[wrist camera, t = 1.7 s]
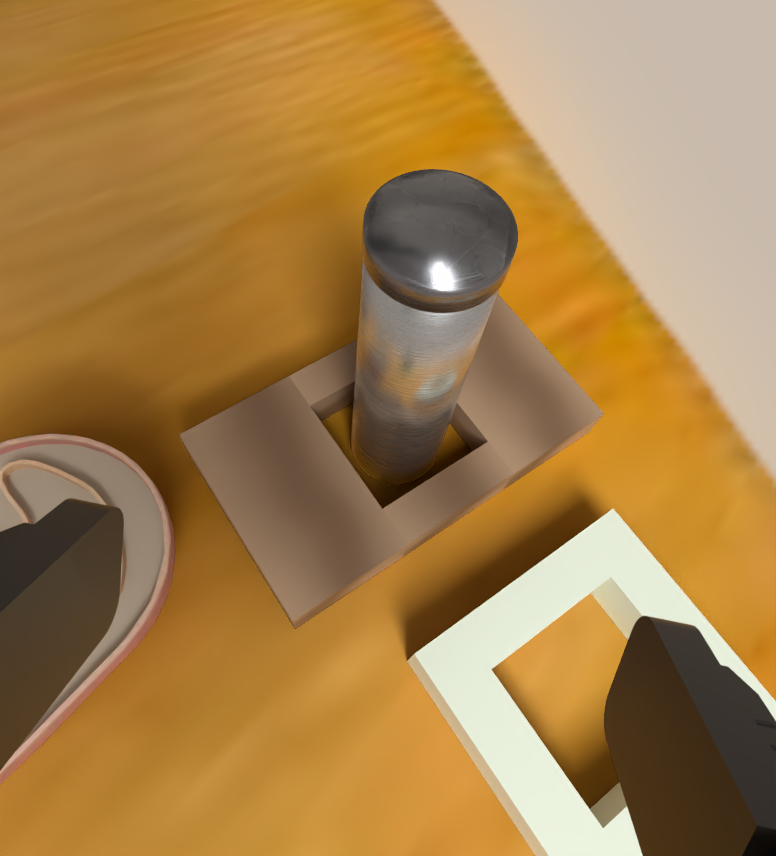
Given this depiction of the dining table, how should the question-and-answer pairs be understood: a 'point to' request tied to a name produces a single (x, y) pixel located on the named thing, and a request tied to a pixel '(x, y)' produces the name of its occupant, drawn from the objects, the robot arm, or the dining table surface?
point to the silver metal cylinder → (422, 312)
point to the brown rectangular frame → (342, 486)
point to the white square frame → (504, 722)
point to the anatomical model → (141, 553)
